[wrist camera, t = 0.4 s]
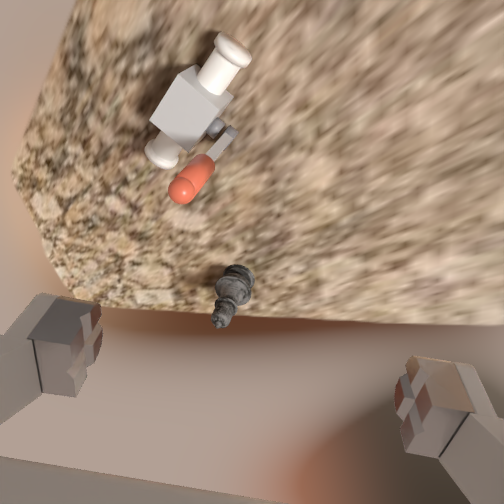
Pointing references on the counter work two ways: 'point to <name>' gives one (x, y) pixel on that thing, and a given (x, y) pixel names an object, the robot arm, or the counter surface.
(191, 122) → the valve
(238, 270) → the grey chess pawn
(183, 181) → the lever
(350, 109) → the counter surface
